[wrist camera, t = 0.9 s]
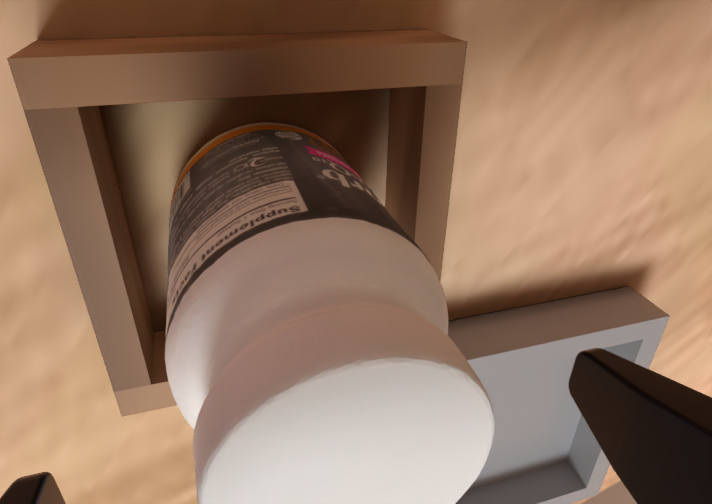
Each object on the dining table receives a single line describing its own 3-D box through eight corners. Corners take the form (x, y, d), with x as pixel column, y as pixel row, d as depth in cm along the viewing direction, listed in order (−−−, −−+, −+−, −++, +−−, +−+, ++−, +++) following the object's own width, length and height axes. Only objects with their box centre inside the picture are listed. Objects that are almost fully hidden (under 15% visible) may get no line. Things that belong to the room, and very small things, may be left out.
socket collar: (425, 29, 15) (466, 41, 12) (405, 309, 20) (432, 351, 18) (36, 40, 12) (7, 58, 10) (128, 360, 17) (121, 416, 15)
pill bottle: (384, 211, 17) (576, 445, 9) (254, 313, 18) (323, 624, 9) (278, 73, 14) (426, 240, 6) (123, 202, 14) (56, 527, 6)
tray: (629, 285, 23) (670, 315, 21) (570, 459, 29) (597, 494, 27) (379, 334, 20) (401, 374, 18) (371, 517, 26) (387, 562, 24)
